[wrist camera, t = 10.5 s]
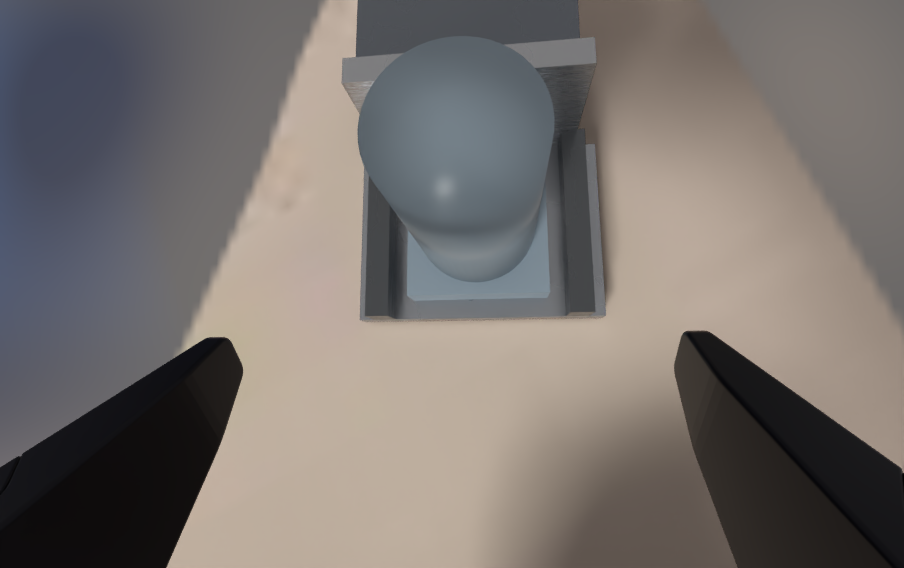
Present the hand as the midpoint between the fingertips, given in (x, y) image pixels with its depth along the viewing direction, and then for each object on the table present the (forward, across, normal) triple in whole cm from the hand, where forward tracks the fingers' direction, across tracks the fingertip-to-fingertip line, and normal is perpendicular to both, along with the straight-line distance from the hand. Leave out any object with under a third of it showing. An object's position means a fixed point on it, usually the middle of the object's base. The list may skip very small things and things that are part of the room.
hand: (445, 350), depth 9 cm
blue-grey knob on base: (+12, 0, +4) cm, 13 cm away
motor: (+16, 0, +2) cm, 16 cm away
